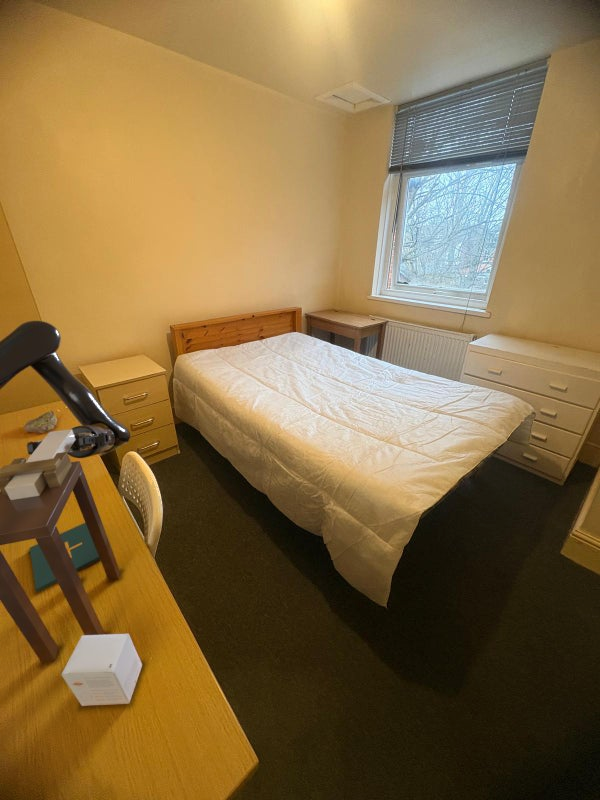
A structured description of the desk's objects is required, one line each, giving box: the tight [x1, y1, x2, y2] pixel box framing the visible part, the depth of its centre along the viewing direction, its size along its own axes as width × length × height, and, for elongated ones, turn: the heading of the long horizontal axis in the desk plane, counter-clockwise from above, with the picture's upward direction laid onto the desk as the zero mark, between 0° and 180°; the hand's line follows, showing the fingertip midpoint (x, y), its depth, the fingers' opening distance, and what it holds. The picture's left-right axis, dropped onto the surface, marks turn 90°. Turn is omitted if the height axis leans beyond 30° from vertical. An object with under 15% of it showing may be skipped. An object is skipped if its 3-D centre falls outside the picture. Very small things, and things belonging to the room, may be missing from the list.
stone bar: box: [5, 428, 76, 500], centre depth 58 cm, size 4×17×2 cm, turn 15°
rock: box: [23, 410, 58, 434], centre depth 130 cm, size 13×10×4 cm
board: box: [29, 522, 101, 593], centre depth 78 cm, size 14×14×1 cm
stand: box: [0, 452, 121, 665], centre depth 58 cm, size 10×16×36 cm, turn 17°
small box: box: [60, 632, 143, 707], centre depth 53 cm, size 8×6×10 cm
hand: (56, 444), depth 62 cm, fingers open, 8 cm apart
